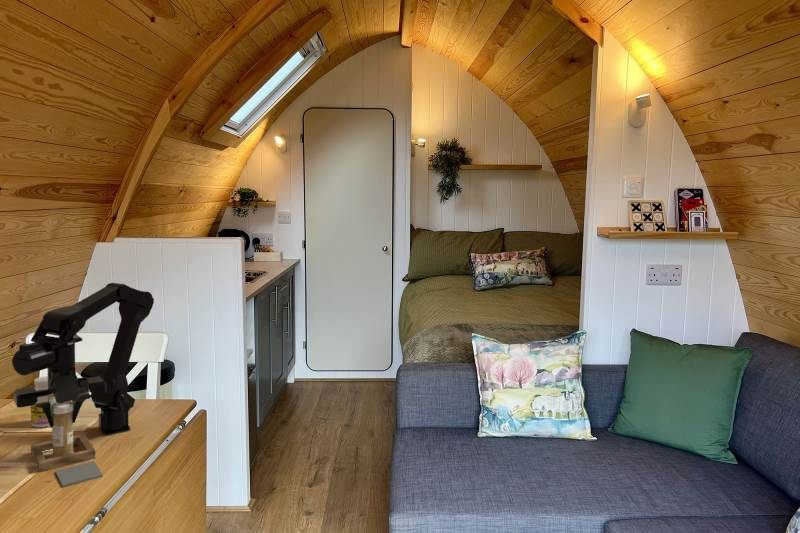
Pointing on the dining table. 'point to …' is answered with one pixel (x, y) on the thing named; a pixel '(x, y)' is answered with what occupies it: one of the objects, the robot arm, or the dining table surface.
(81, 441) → the walnut collar stand
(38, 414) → the supplement bottle
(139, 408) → the dining table surface
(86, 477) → the grey flat square slab
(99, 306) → the robot arm
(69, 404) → the sprinkles bottle
